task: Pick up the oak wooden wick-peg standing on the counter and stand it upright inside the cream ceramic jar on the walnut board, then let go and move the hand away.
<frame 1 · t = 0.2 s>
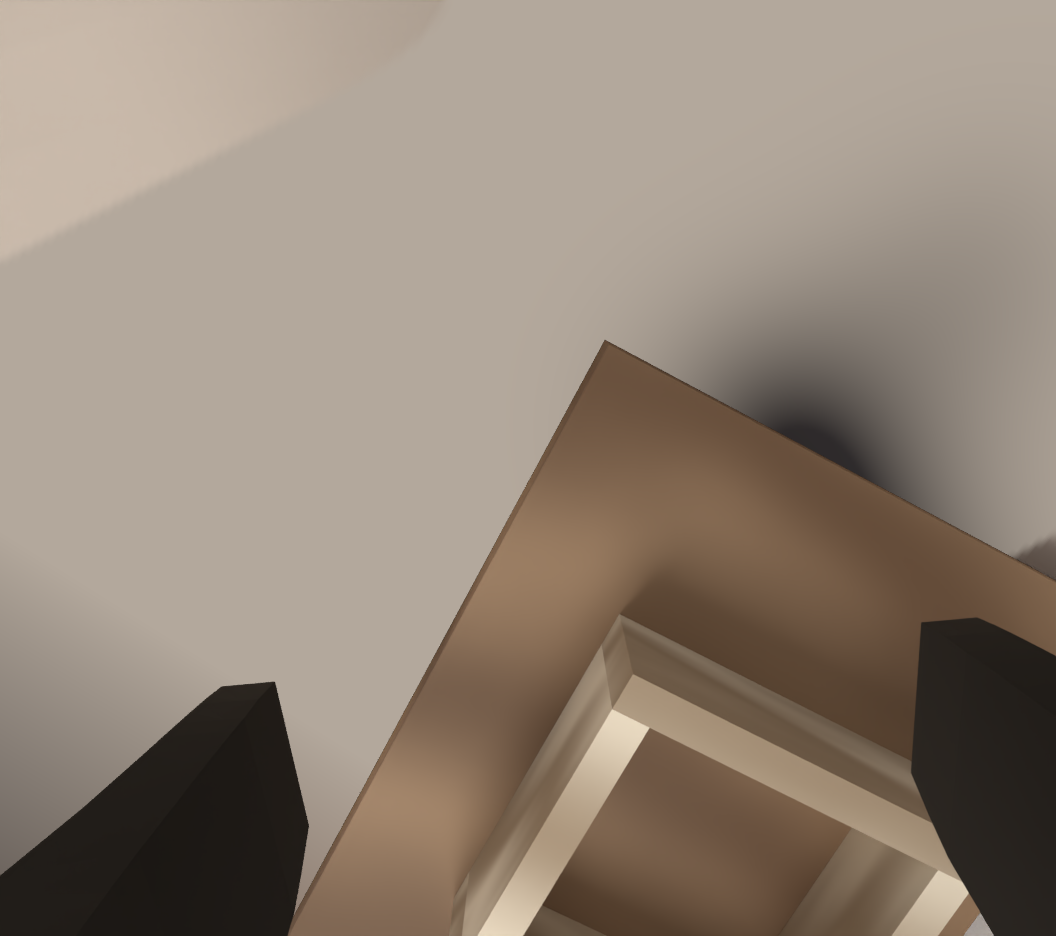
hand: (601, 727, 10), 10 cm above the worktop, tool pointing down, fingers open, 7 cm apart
walnut board: (679, 805, 22), on the worktop
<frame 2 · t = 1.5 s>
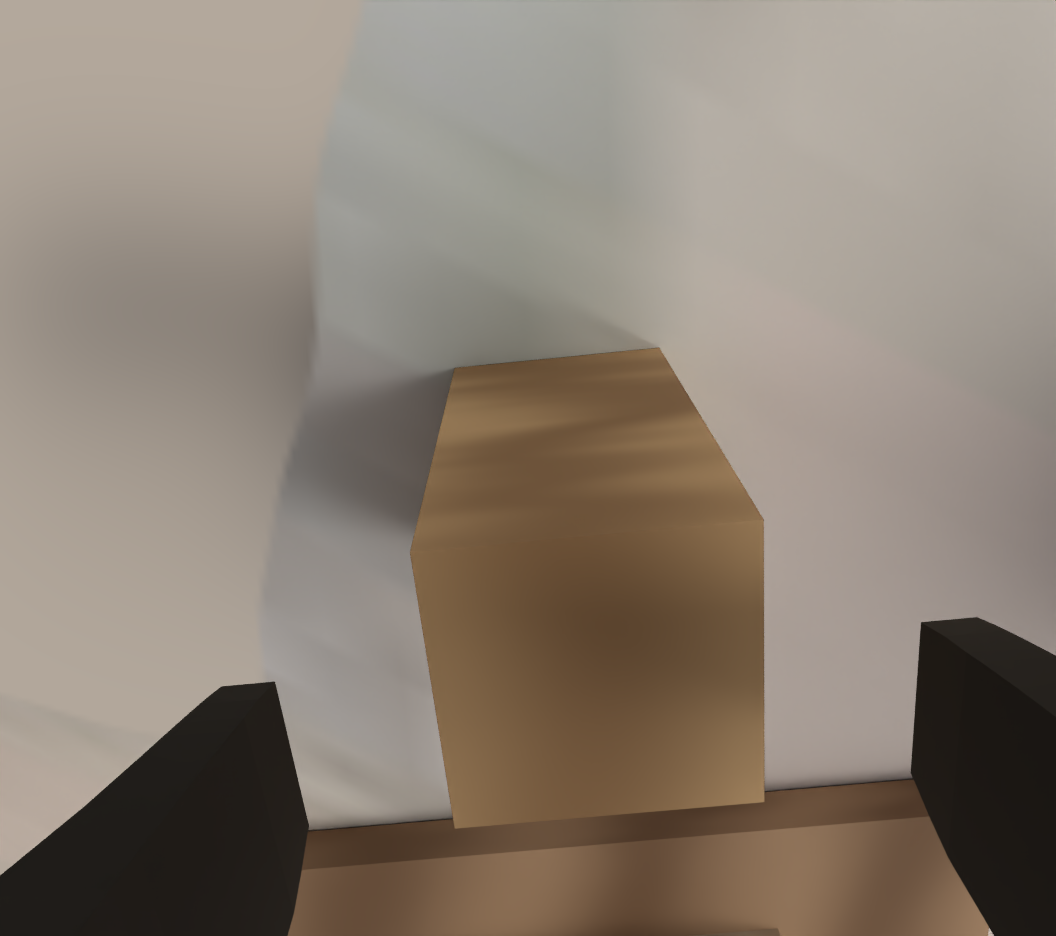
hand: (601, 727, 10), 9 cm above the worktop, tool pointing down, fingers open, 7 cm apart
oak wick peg: (565, 453, 18), on the worktop
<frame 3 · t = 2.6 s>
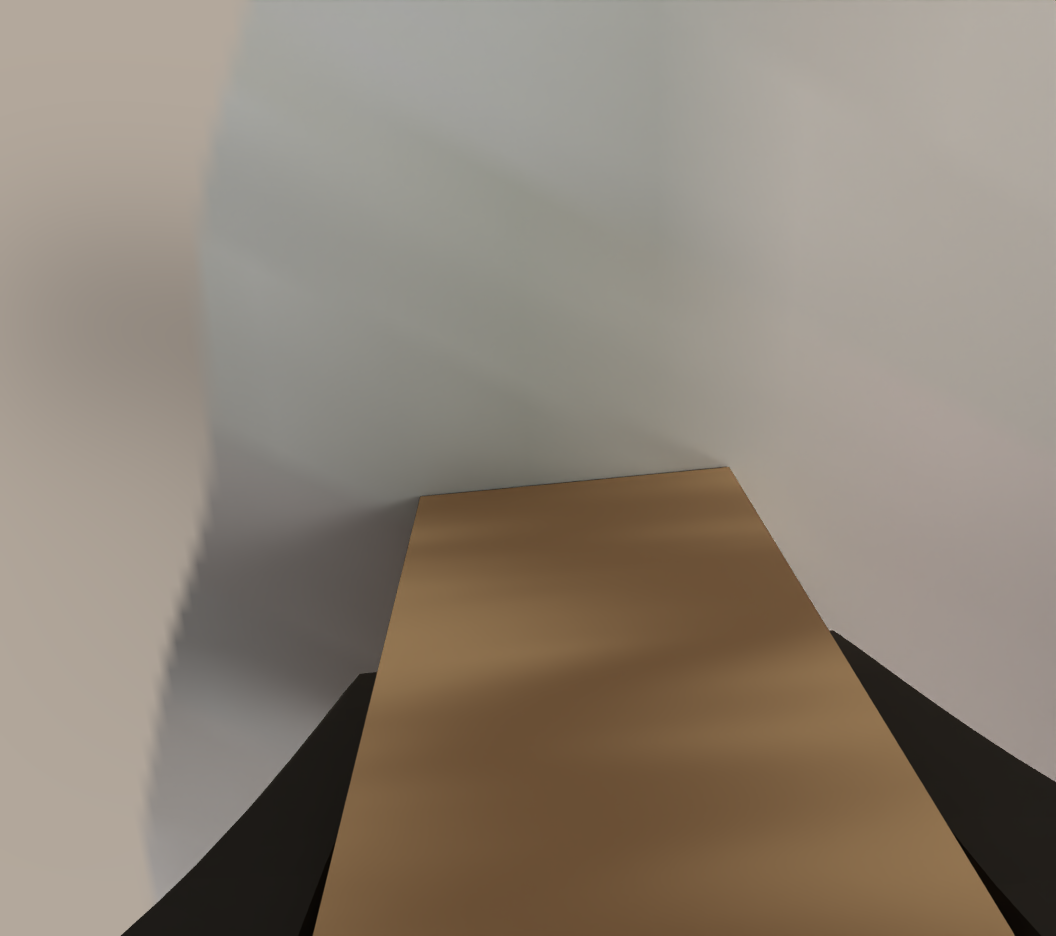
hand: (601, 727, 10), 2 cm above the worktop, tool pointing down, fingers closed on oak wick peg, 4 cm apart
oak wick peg: (585, 616, 12), on the worktop, touching gripper
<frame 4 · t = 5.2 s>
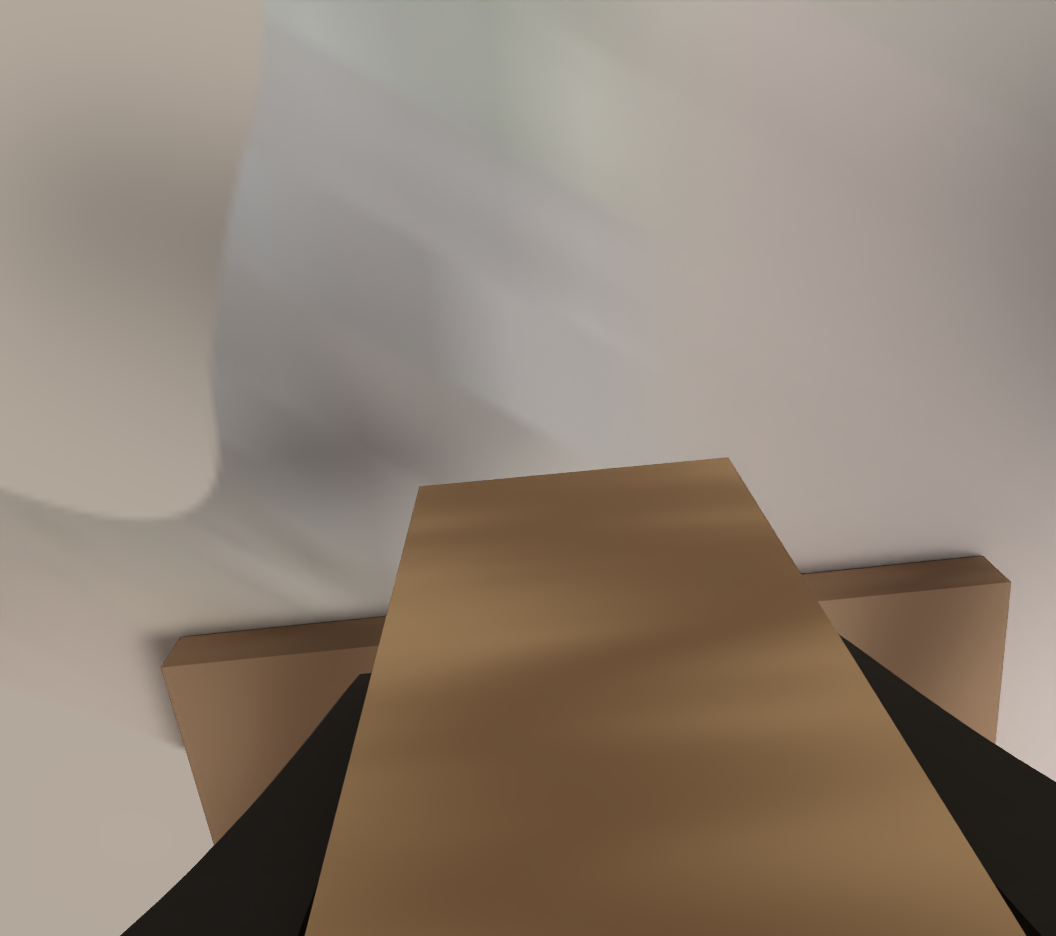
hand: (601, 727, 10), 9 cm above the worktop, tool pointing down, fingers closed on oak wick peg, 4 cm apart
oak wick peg: (584, 607, 12), point 7 cm above the worktop, touching gripper
walnut board: (601, 840, 23), on the worktop
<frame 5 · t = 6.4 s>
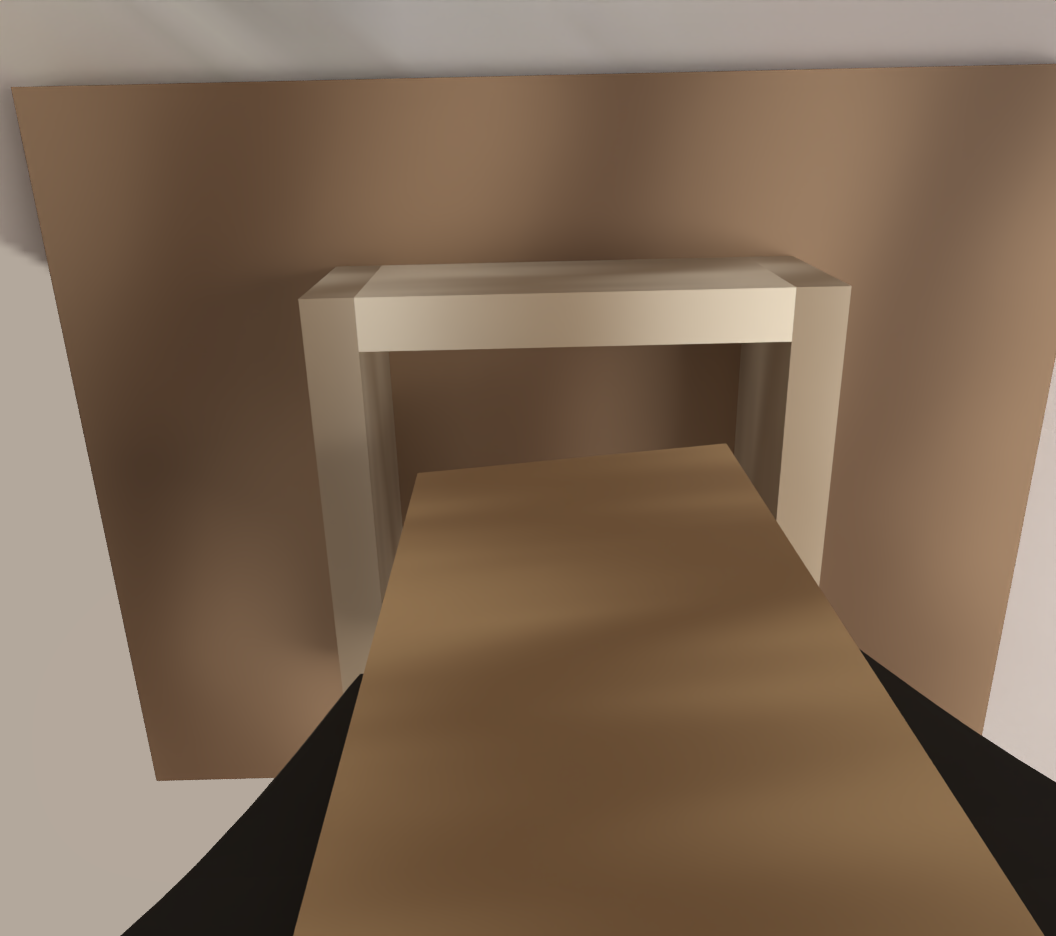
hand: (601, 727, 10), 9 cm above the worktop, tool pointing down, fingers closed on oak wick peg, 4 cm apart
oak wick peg: (583, 594, 12), point 6 cm above the worktop, touching gripper
walnut board: (562, 451, 18), on the worktop
when the fingers open (5 cm above the worktop, at t = 7.6 s): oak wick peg drops 1 cm, resting on walnut board.
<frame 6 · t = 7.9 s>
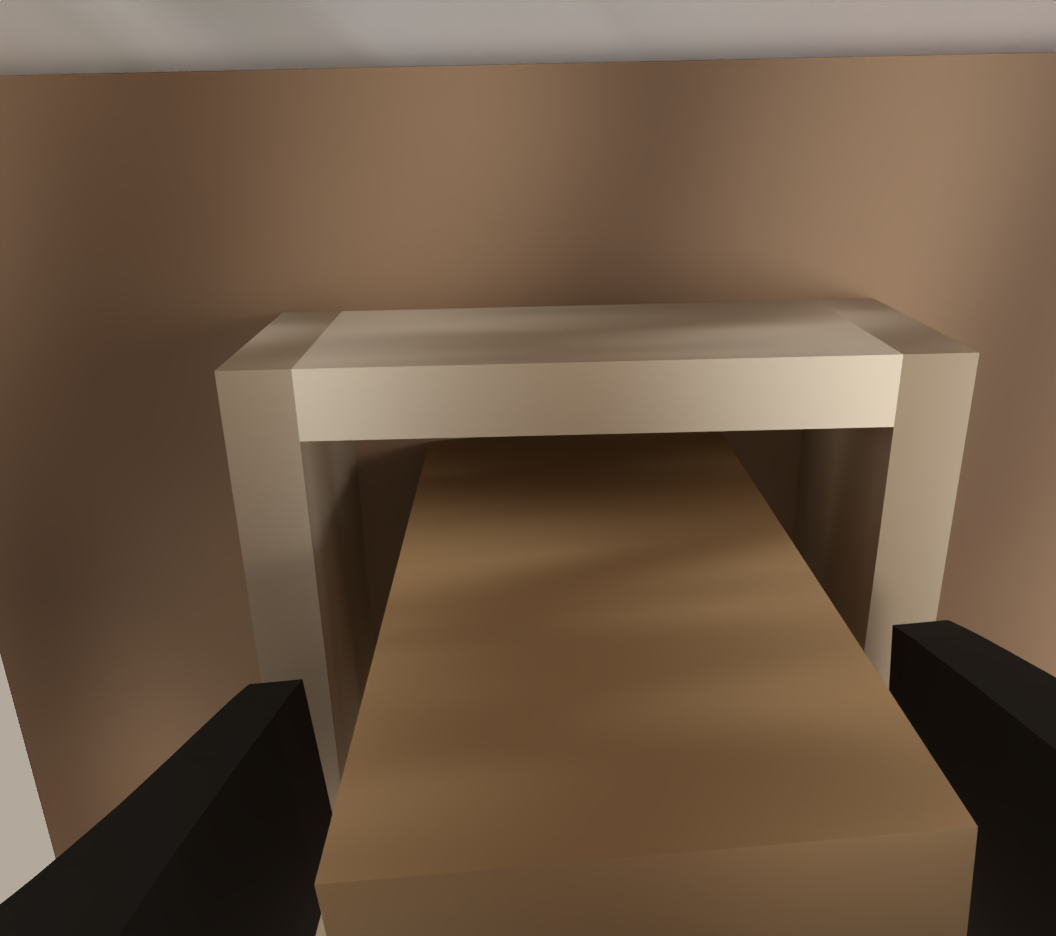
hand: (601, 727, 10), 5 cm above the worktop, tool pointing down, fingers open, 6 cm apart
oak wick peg: (579, 553, 14), point 1 cm above the worktop, touching walnut board
walnut board: (574, 534, 15), on the worktop
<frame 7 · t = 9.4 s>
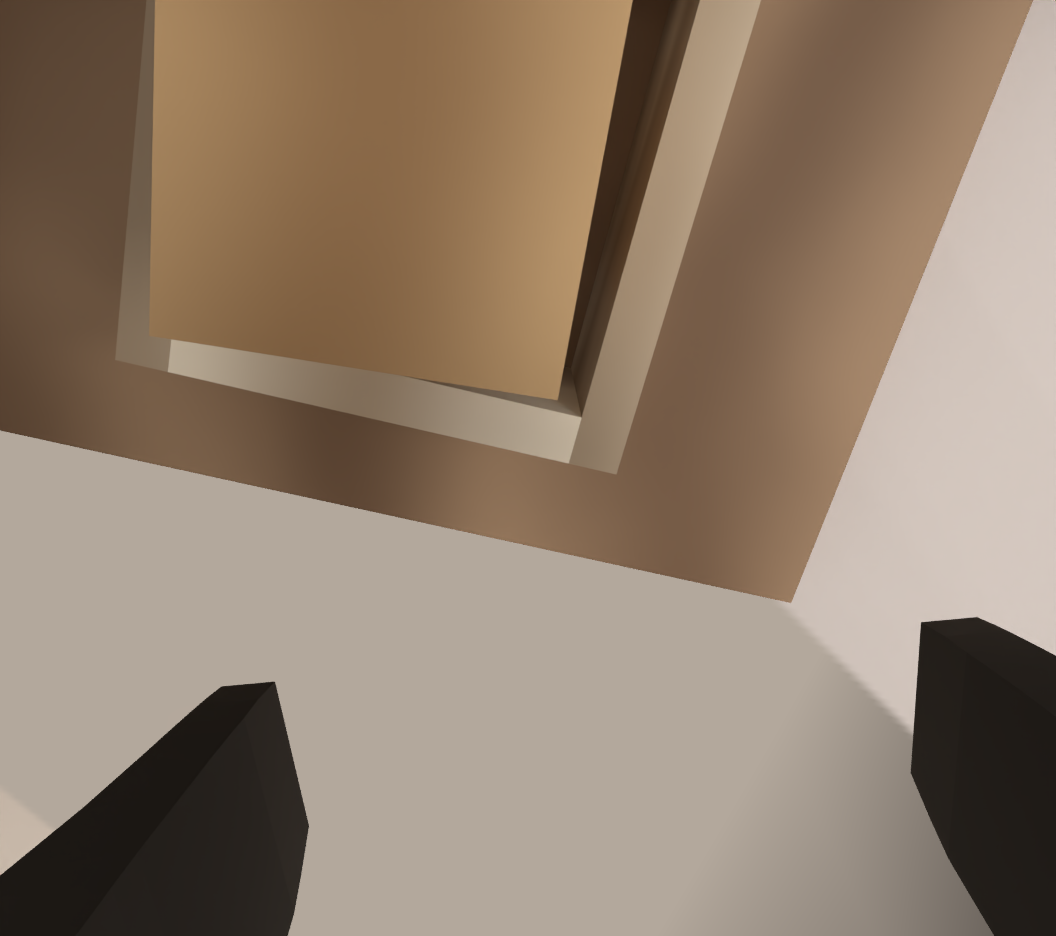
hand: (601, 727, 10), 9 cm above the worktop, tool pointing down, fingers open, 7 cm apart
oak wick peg: (443, 135, 16), point 1 cm above the worktop, touching walnut board
walnut board: (444, 148, 17), on the worktop
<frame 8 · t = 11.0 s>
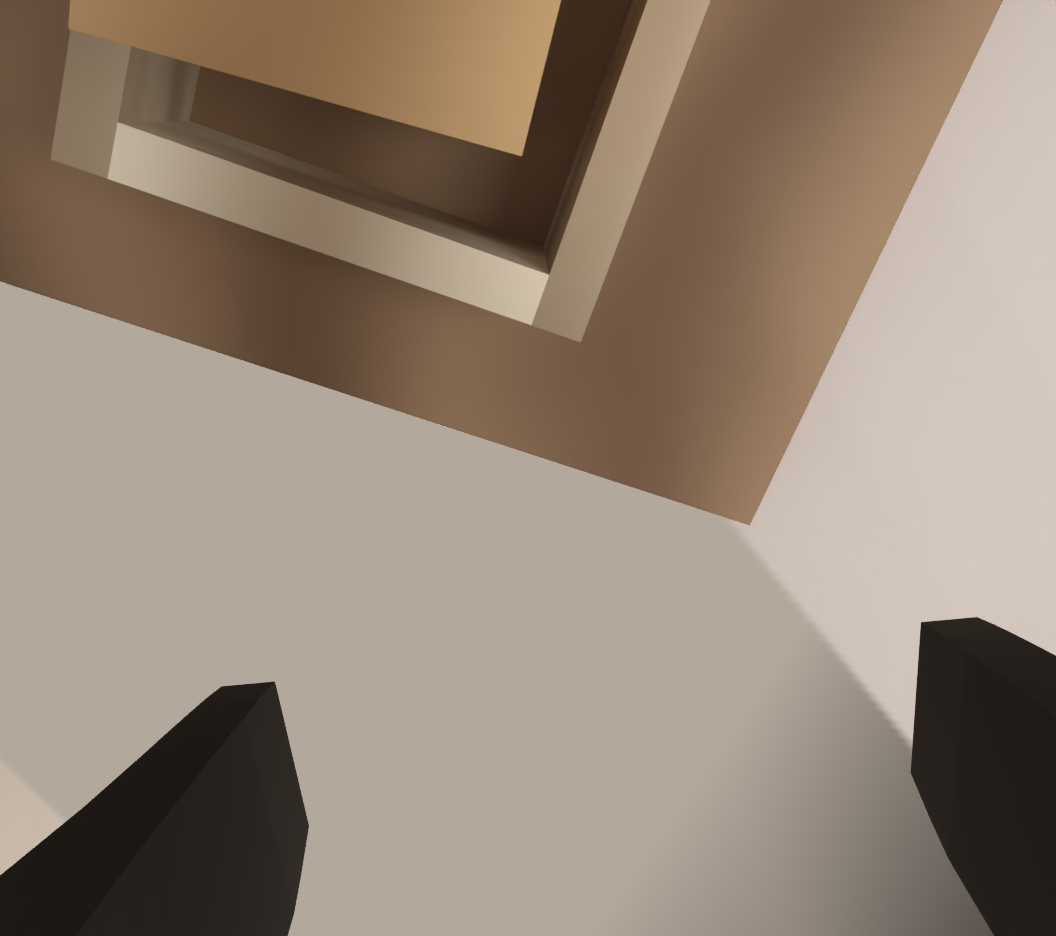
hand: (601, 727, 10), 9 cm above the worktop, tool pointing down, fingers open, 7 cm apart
walnut board: (431, 0, 16), on the worktop
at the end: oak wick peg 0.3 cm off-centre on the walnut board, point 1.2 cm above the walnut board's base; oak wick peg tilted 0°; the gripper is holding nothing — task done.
